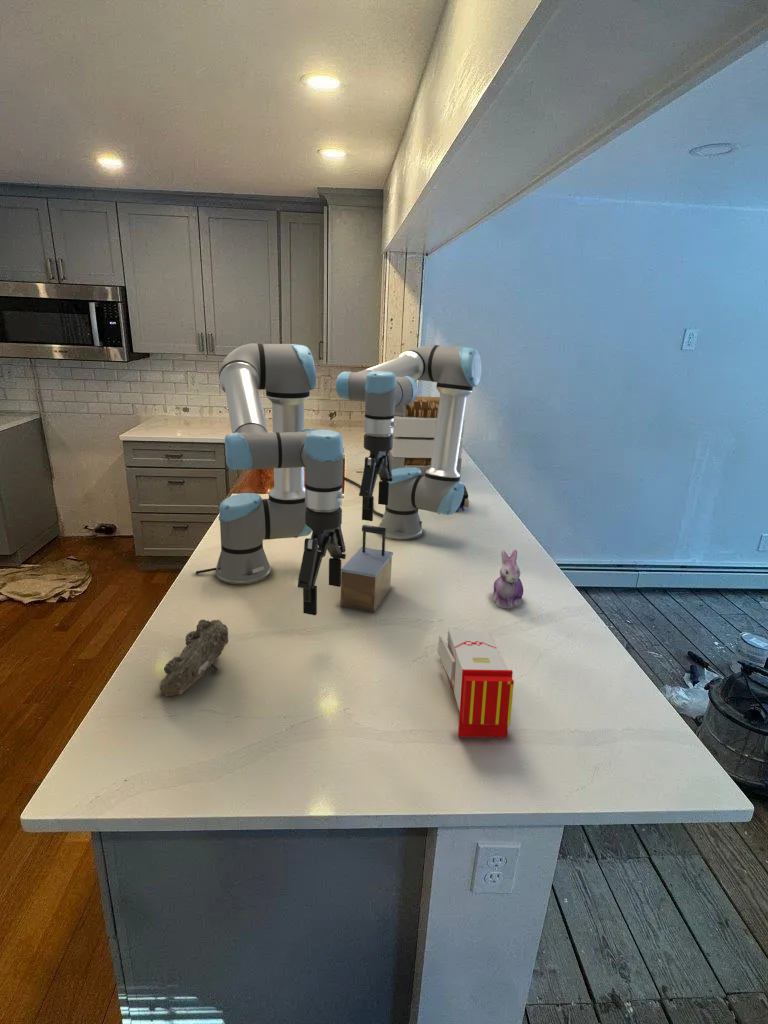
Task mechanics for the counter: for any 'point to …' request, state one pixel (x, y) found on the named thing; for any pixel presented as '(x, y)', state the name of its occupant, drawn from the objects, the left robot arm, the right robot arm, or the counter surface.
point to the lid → (368, 556)
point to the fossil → (195, 656)
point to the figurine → (508, 583)
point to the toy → (478, 682)
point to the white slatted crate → (416, 434)
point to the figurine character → (464, 500)
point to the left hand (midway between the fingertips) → (323, 598)
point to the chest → (365, 589)
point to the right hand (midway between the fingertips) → (375, 512)
